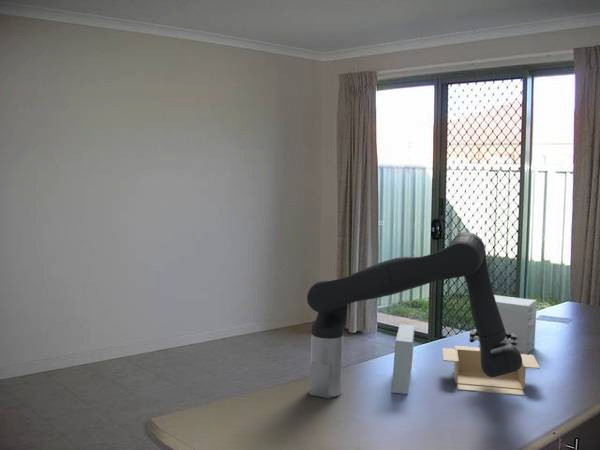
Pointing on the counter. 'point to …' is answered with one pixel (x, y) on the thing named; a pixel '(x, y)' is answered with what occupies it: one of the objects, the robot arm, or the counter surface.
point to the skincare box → (403, 359)
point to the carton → (475, 379)
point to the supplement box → (519, 320)
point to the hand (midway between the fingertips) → (490, 331)
